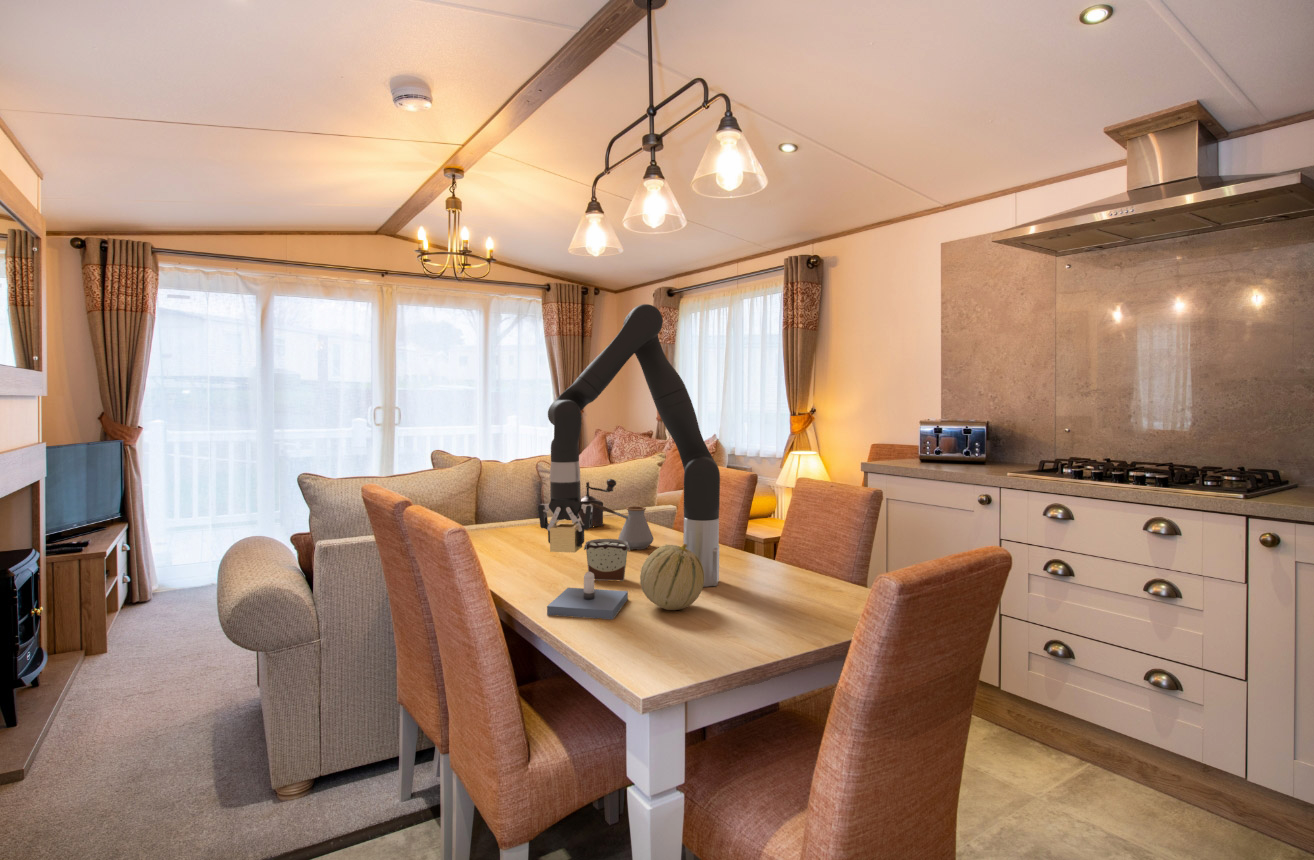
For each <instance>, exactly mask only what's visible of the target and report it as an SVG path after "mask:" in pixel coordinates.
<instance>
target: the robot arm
mask: <svg viewBox="0 0 1314 860" xmlns="http://www.w3.org/2000/svg"><path fill="white" fill-rule="evenodd" d="M663 323H664V322H663V316H662V313H661V311H660V310H659V309H658V308H657V307H656V306H654V305H652V304H648V303H644V304H643V303H642V304H639V305H637V306H635V307H633V309H632V310H630V311H629V313H628V314H627V315H626V317H625V318H624V320H623V324H622V325H623V326H622V328H621V330H620V331H619V332H618V334H616V336H615V337H614V339H613V340H612V341H611V342H610V343H609V344H608V345H607V346H606V347H605V348H604V349H603V350H602V351H601V352H600V353H599V354H598V355H597V356H596V357H595V358H594V359H593V361H591V362H590V363H589V364H588V365H587V366H586V368H585V369H583V371H582V372H581V373H580V374H579V375H578V377H577V378H576V379H575V380H574V381H573V383H571V385H570V386H568V388H566V389H565V390H564V391H563V392H562V393H561V394H560V395H558V397H557V398H555V400H554V401H553V402H552V403H551V404H550V405H549V408H548V411H547V418H548V420H549V422H550V423H551V425H553V432H554V433H553V439H552V441H551V443H550V468H549V484H550V485H549V487H550V490H549V491H550V497H549V498H550V501H549V503H541V504H538V506H537V510H538V517H539V519H538V520H539V526H540V528H541V529H545V530H547V535H548V536H547V541H548V544H550V527H552V526H554V525H556V524H557V523H559V521H564V520H567V521H572V522H573V524H575V526H576V527H577V530H578V532H577V546H581V545H582V546H583V544H584V543H585V531H586V530H589V529H590V528H592V527H591V526H592V515H593V505H592V504H590V505H584V504H582V502H581V498H582V497H581V495H582V493H581V467H580V451H579V450H580V447H579V445H580V444H579V443H580V442H579V441H580V437H581V430H582V418H583V417H582V410H583V409H584V408H585V407H586V406H588V405H589V404H591V403H593V402H594V401H595V400H596V399H597V398H599V396H600V395H601V394H602V393H603V391H604V390H605V389H606V388H607V387H608V386H609V384H610V383H611V382H612V381H613V380H614V378H615V377H616V376H617V375H618V373H619V372H620V371H621V370H622V368H623V367H624V366H625V365H626V363H627V362H628V361H629V360H630V358H631V357H632V356H633V355H635V357H636V358H637V360H638V363H639V365H640V367H641V371H642V373H643V376H644V379H645V381H646V384H647V387H648V389H649V392H650V394H651V398H652V400H653V403H654V406H655V408H656V410H657V412H658V416H659V417H660V419H661V421H662V423H663V425H664V427H665V428H666V430H667V431H668V434H669V435H670V437H671V438H672V440H673V441H674V444H675V446H676V448H677V451H678V455H679V456H680V457H679V458H680V460H681V464H682V468H683V471H684V473H683V545H684V544H686V545H687V547H686V549H688V550H690V551H691V552H693V553H694V554H695V555H696V556H697V557H698V558H699V560H700V562H701V564H702V566H703V570H704V585H703V588H705V587H717V586H718V584H719V581H720V545H719V540H720V538H719V535H720V533H719V531H720V498H721V497H720V496H721V495H720V492H721V475H720V474H721V473H720V468H719V466H718V464H717V463H716V460H715V459H714V458H713V456H712V454H711V452H710V450H709V448H708V446H707V444H706V442H705V440H704V438H703V436H702V432H701V429H700V425H699V422H698V418H697V414H696V412H695V411H696V410H695V407H694V405H693V402H692V400H691V399H692V398H691V397H690V394H689V392H688V389H687V388H686V387H687V386H686V385H685V383H684V381H683V379H682V377H681V376H680V375H679V373H678V372H677V370H676V369H675V368H674V366H673V365H672V364H671V362H670V361H669V360H668V358H667V356H666V354H665V353H664V350H663V348H662V345H661V341H660V338H659V334H660V332H661V330H662V328H663V325H664V324H663ZM581 509H583V512H584V513H585V524H584V525H583V523H582V521H581V517H580V516H579V514H578V513H579V512H580V510H581ZM549 510H550V512H551V514H553V515H552V516H551V518H550V521H548V512H549ZM572 522H571V523H572ZM683 545H682V546H683Z"/></svg>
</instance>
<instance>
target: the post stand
mask: <svg viewBox="0 0 1314 860" xmlns="http://www.w3.org/2000/svg"><path fill="white" fill-rule="evenodd" d="M628 595H629V591H627V590H615V589H614V590H611V589H600V588H599V589H596V588H595V580H594V574H593V573H592V572H588V571H587V572H585V573H584V575H583V588H581V587H567V588H566V589H565V590H563V591H562V592H561V593H560V594H559V595H558V596H557V597H556V598H554V599H553V600H552V601H551V602H549V604H548V605H547V606H546V610H547V611H546V616H555V615H558V616H557V617H569V616H573V617H572V618H583V617H585V619H598V618H602V619H601V620H612V619H613V620H614V619H615V617H616V616H617V615H618V613H619V612H620V610H621V609H622V608H623V607H624V606H625V604H626V602H627V601H628V600H629V596H628ZM627 599H628V600H627ZM624 603H625V604H624Z"/></svg>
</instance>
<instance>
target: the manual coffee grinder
mask: <svg viewBox="0 0 1314 860" xmlns="http://www.w3.org/2000/svg"><path fill="white" fill-rule="evenodd" d="M606 485H607V487H606V488H605V489H604V488H603V489H602V488H600V487H599V488H598V487H592V486H590V481H586V482H585V488H586V495H583V496H582V497H581V502H582V504H584V505H589V504H590V503H594V504H598V505H599V506H604V502H603V501H601V500H600V499H599V498H596V497H595V496H592V495H590V490H593V491H599V492H602V493H603V492H604V493H611V492H614V488H615V486H616V485H617V481H616V480H615V479H612V478H609V479H607V480H606ZM578 514H579V516H580V517H581V521H582V523H583V525H584V524H585V513H584V512H583V509H581V510H580V512H579V513H578ZM571 523H573V522H571ZM593 526H602V527H604V511H603V510H601V509H600V508H598V507H597V508H596V507H595V506H593V515H592V526H591V527H590V528H594V527H593Z"/></svg>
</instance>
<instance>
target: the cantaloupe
mask: <svg viewBox="0 0 1314 860" xmlns="http://www.w3.org/2000/svg"><path fill="white" fill-rule="evenodd" d="M683 544H684V543H683ZM686 547H687V545H686V544H684V545H681V546H680V545H676V544H665V545H662V546H660V547H658V548H656V549H655V550H654V551H652V553H650V554H649V555H648V556H647V557H646V559H645V560H644V562H643V564H642V566H641V568H640V569H641V570H640V575H639V579H640V581H639V583H640V587H641V590H642V592H643V594H644V595H645V597H646V598H647V600H649V602H652V604H654V605H655V606H657V607H660V608H662V609H664V610H666V611H677V610H683V609H685V608H688V607H690V606H692V605H693V603H695V601H696V600H697V599H699V596H700V594H701V593H702V591H703V588H704V587H703V585H704V570H703V566H702V564H701V562H700V560H699V558H698V557H697V556H696V555H695V554H694V553H693V552H691V551H690V550H688V549H686Z"/></svg>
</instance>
